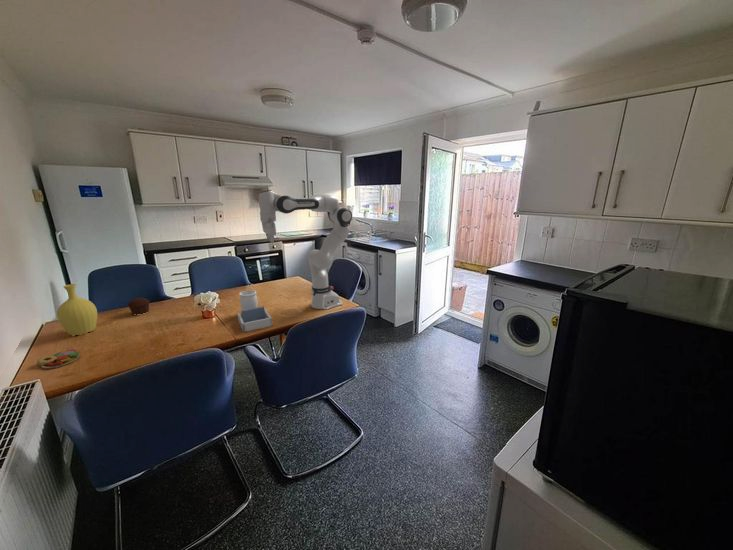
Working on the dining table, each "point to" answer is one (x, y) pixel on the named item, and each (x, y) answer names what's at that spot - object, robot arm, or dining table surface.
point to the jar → (248, 299)
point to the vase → (77, 313)
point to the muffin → (139, 306)
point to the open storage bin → (255, 323)
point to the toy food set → (58, 359)
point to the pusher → (253, 314)
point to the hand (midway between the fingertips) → (270, 241)
